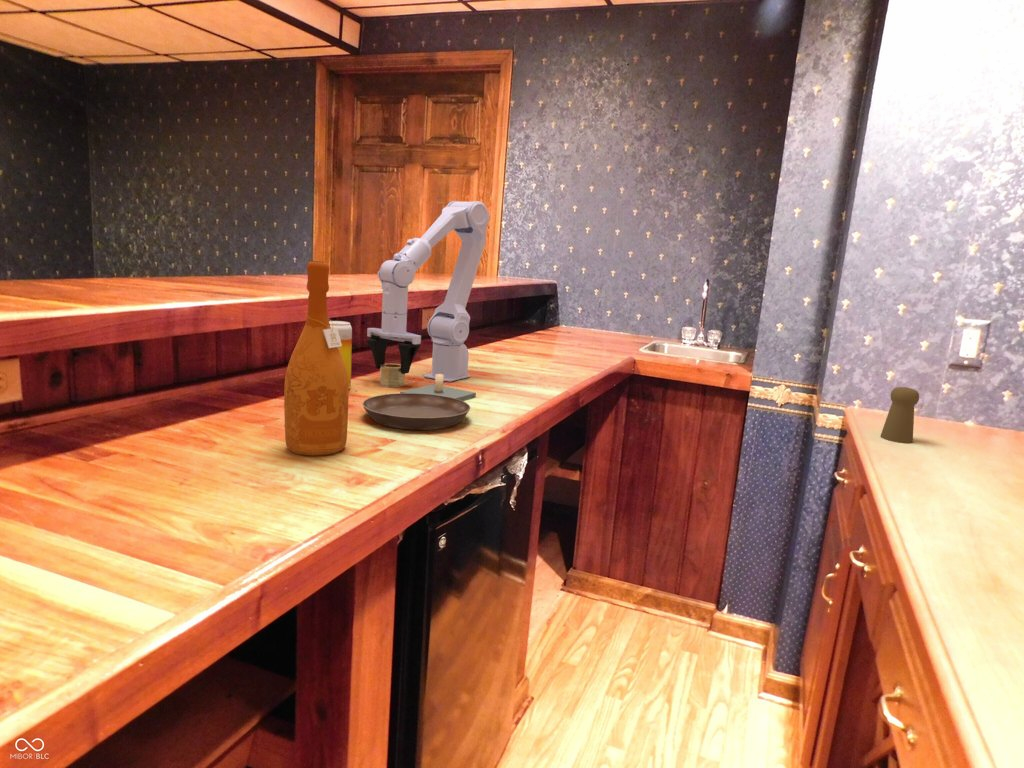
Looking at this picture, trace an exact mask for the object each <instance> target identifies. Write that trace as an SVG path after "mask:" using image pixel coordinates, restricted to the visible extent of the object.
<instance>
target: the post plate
mask: <svg viewBox="0 0 1024 768" xmlns="http://www.w3.org/2000/svg"><path fill="white" fill-rule="evenodd" d="M443 376H444V375H443V374H435V379H434V383H433V384H428V385H424V386H423V385H422V386H420V387H416V388H411V389H407V390H402V391H400V393H417V394H431V395H439V396H445V397H451V398H455V399H458V400H461V401H463V402H465V401H467V400H470V399H474V398H476V396H477V393H476V392H473V391H469V390H463V389H459V388H454V387H449V386H445V385H444V381H443Z"/></svg>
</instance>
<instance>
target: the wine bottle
mask: <svg viewBox="0 0 1024 768" xmlns="http://www.w3.org/2000/svg"><path fill="white" fill-rule="evenodd" d="M330 270H331V269H330V266H329V264H328V262H325V261H322V260H311V261H308V263H307V265H306V272H307V283H306V290H307V291H308V292H309V293H308V297H307V298H308V299H307V313H306V319H305V323H304V327H303V329H302V331H301V334H300V337H299V338H298V340H297V342H296V345H295V347H294V349H293V351H292V353H291V356H290V359H289V361H288V365H287V368H286V372H285V377H284V390H283V392H284V395H283V396H284V397H283V399H284V402H283V404H284V406H283V407H284V438H285V439H284V440H285V445H286V447H287V449H288V450H289V451H290V452H292V453H294V454H297V455H303V456H311V457H318V456H319V457H320V456H328V455H333V454H336V453H338V452H340V451H342V450H343V449H344V448H345V446H346V444H347V440H348V438H347V437H348V422H349V395H350V394H349V393H350V392H349V389H350V388H349V385H348V375H347V370H346V366H345V363H344V360H343V357H342V354H341V351H340V349H339V347H340V346H342V344H341V340H340V336H339V332H338V328H333V327H332V329H331V327H330V323H329V321H331V322H332V321H333V320H331V319H330V318H329V314H328V313H329V312H328V303H327V301H328V300H327V293H328V292H329V290H330V286H329V285H330V284H329V275H330ZM332 326H333V323H332Z"/></svg>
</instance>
